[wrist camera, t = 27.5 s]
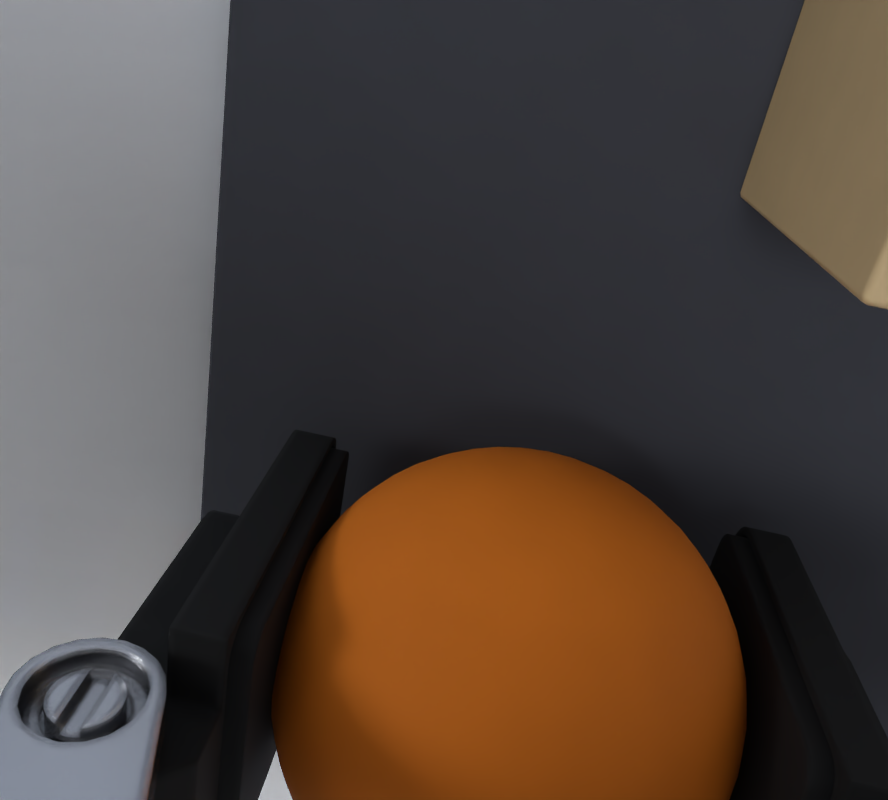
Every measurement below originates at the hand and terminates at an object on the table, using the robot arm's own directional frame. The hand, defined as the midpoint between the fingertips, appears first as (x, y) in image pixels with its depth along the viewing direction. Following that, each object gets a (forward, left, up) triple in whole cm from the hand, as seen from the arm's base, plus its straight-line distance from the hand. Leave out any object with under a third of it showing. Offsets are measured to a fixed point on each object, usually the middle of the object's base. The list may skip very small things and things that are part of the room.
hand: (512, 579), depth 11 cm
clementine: (0, 0, +2) cm, 2 cm away
